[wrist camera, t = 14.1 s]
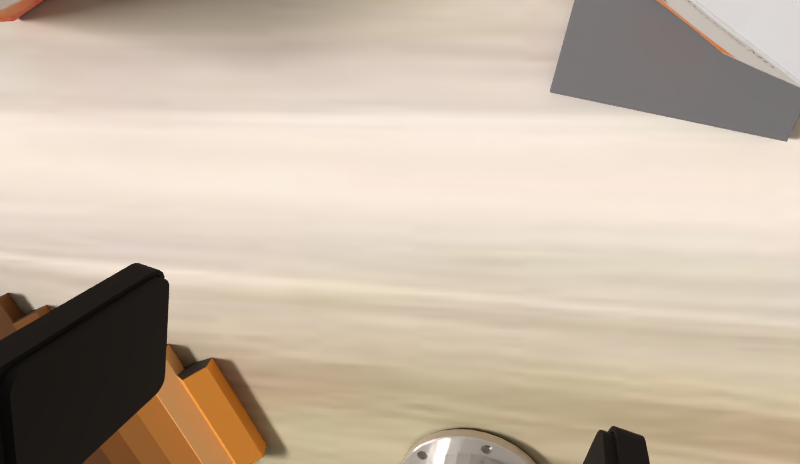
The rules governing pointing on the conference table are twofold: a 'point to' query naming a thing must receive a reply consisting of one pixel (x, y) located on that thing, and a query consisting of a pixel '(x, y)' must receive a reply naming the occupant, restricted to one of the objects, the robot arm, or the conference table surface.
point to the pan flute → (172, 414)
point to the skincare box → (749, 31)
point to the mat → (667, 70)
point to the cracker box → (15, 8)
